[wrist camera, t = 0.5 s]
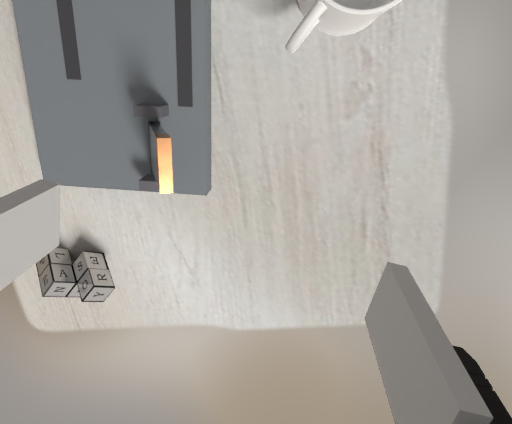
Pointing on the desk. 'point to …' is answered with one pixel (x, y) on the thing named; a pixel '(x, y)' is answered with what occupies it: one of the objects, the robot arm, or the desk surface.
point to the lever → (160, 157)
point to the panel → (118, 89)
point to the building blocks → (75, 276)
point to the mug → (336, 17)
